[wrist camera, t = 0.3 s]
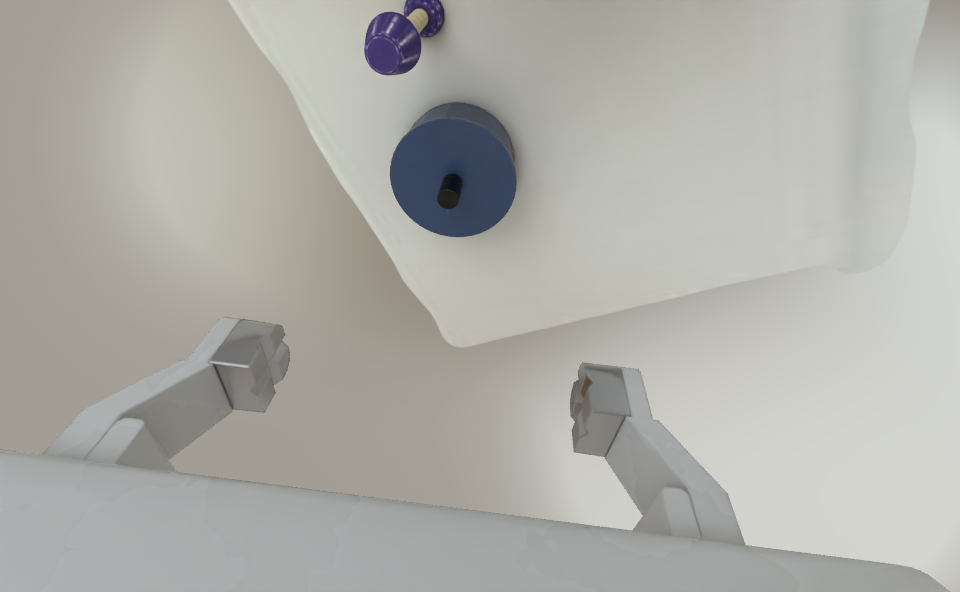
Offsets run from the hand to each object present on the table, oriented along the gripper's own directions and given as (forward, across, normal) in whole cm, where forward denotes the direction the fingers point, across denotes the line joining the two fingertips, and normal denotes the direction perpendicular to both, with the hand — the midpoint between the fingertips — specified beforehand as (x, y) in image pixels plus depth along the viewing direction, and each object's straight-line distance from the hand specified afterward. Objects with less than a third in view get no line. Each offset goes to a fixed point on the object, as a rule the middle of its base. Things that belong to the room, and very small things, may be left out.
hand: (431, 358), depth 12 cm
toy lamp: (+47, +9, -1) cm, 48 cm away
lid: (+40, +4, +14) cm, 43 cm away
